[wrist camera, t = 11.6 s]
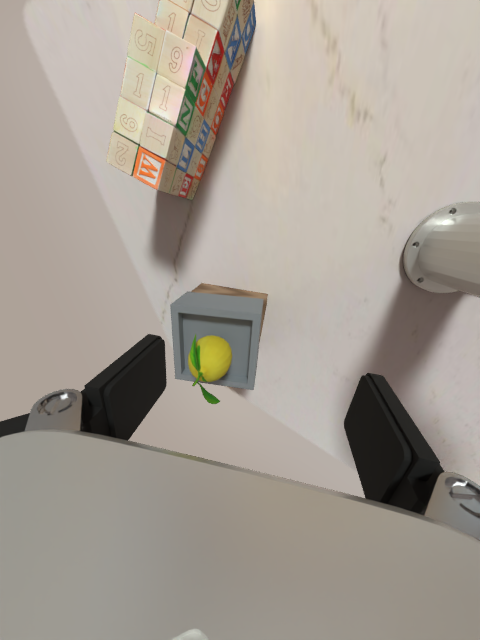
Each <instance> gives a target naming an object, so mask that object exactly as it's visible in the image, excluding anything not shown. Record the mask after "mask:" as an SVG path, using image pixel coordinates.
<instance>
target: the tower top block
mask: <svg viewBox="0 0 480 640" xmlns="http://www.w3.org/2000/svg"><path fill="white" fill-rule="evenodd" d="M263 300H264V299H259V298H249V297H239V296H228V295H218V294H208V293H197V292H187V293H185V294H184V295H183V296H181V297H180V298H179V299H177V300H176V301H175V302H173V303H172V304H171V305H170V306H171V321H172V336H173V350H174V364H175V379H180V380H187V381H194V382H195V381H196V378H195V377H194V376H193V375H192V373H191V372H190V370H189V366H188V355H189V353H190V350H191V346H192V343H193V340H194V337H195V334H196V342H197V341H198V340H199V339H200V338H202V337H205V336H210V335H214V336H218V337H221V338H223V339H225V340H226V341H227V342H228V343H229V345H230V347H231V350H232V361H231V365H230V367H229V369H228V371H227V372H226V374H225V375H224V376H222V377H221V378H220V379H218V380H216V381H213V382H202V381H200V380H198V382H201V383H208V384H215V385H222V386H229V387H236V388H243V389H250V390H254V383H255V376H256V368H257V359H258V349H259V339H260V329H261V320H262V310H263Z"/></svg>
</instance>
